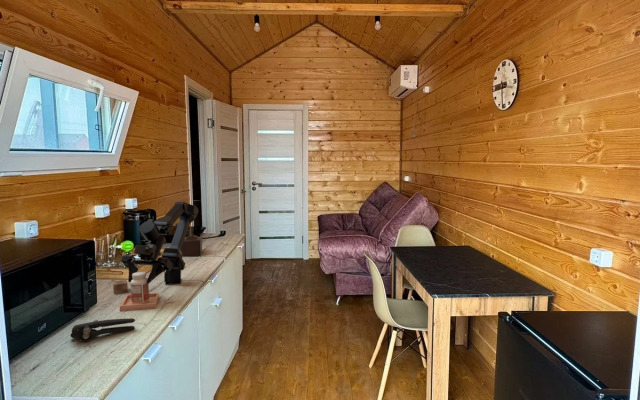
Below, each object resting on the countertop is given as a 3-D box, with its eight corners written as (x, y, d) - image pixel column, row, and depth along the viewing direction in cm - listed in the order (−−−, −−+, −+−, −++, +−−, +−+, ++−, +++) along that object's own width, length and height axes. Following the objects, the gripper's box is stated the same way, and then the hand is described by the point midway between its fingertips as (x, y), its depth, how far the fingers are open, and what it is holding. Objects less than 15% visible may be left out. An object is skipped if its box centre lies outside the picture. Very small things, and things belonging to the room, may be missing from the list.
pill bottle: (145, 297, 149) (144, 270, 148) (151, 301, 145) (150, 273, 144) (129, 301, 145) (127, 273, 144) (134, 305, 141) (133, 276, 140)
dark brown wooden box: (202, 252, 227) (203, 222, 225) (200, 256, 216) (200, 225, 214) (175, 252, 225) (175, 222, 223) (171, 256, 214) (171, 225, 212)
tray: (159, 296, 152) (159, 292, 152) (155, 308, 141) (155, 303, 141) (126, 299, 149) (126, 294, 149) (119, 310, 137) (119, 306, 137)
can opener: (71, 347, 111) (70, 329, 110) (70, 338, 117) (69, 320, 116) (137, 333, 121) (137, 316, 121) (133, 325, 127) (133, 309, 126)
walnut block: (126, 288, 161) (126, 279, 160) (127, 292, 156) (127, 283, 156) (113, 290, 158) (113, 281, 158) (113, 294, 154) (113, 284, 153)
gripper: (122, 234, 147) (104, 270, 137) (168, 237, 145) (153, 274, 136) (135, 249, 156) (118, 284, 146) (178, 252, 154) (164, 288, 144)
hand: (138, 282), depth 143 cm, fingers open, 7 cm apart
